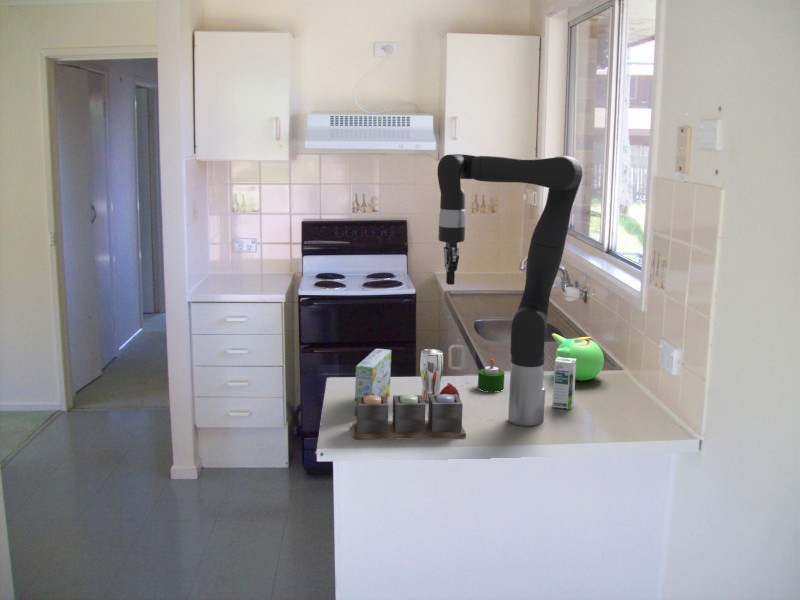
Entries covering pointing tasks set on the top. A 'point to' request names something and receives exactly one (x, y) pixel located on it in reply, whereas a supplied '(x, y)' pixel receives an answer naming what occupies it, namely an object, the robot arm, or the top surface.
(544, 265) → the robot arm
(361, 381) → the snack box
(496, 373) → the candle
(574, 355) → the toy bird
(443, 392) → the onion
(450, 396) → the pale blue rounded piece
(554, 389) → the syrup box
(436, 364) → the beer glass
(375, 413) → the button board
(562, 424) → the top surface
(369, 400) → the terracotta button
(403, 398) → the sage button
